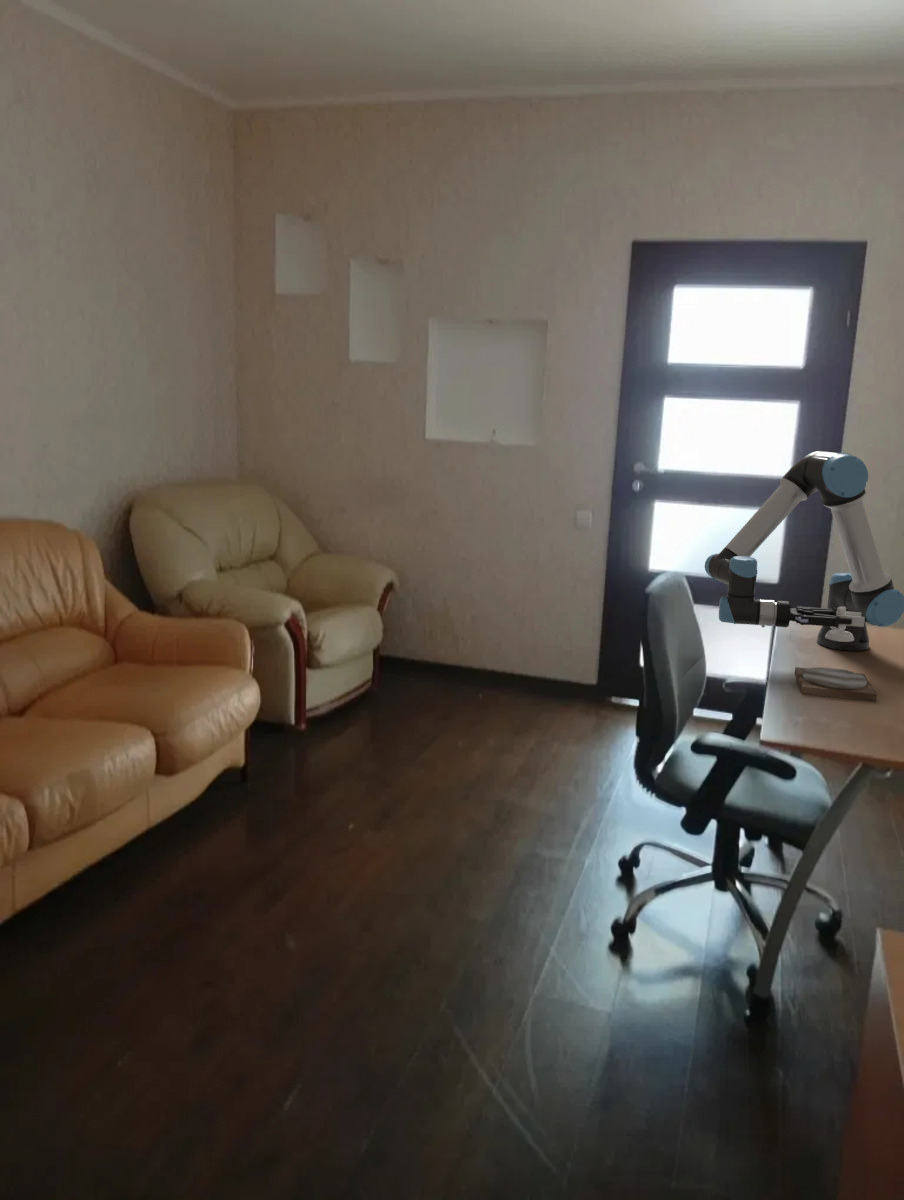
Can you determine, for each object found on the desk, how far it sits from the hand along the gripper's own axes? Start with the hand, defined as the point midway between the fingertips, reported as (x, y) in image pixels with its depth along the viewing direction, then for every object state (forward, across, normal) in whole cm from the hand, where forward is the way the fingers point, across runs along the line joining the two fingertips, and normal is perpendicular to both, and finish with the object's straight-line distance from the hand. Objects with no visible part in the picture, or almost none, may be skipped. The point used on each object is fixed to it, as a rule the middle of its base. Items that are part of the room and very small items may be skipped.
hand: (862, 619), depth 253 cm
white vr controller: (-5, -1, -6) cm, 8 cm away
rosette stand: (-8, +17, -15) cm, 24 cm away
